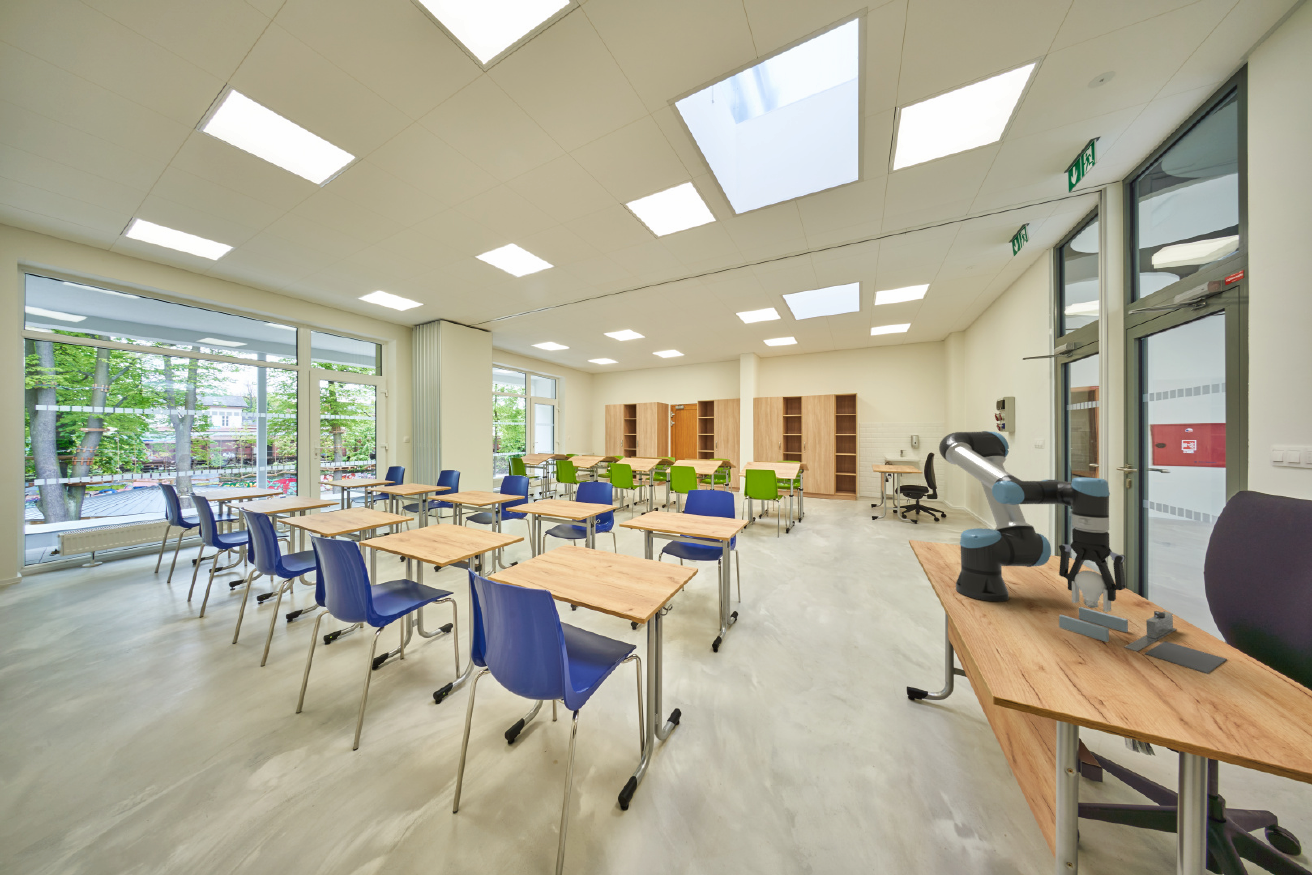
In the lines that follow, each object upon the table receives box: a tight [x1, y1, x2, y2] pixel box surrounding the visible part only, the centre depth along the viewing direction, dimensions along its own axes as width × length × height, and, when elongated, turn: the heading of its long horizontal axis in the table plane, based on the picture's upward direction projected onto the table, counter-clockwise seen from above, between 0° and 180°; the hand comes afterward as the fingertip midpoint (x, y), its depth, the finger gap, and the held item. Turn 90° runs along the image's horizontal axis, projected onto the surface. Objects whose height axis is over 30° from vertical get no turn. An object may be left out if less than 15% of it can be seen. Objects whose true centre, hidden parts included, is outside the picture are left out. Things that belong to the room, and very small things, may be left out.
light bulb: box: [1075, 570, 1107, 609], centre depth 120 cm, size 7×7×11 cm
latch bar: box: [1145, 610, 1174, 639], centre depth 116 cm, size 2×13×6 cm, turn 114°
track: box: [1123, 627, 1178, 653], centre depth 114 cm, size 2×28×1 cm, turn 114°
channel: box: [1058, 606, 1129, 643], centre depth 119 cm, size 10×14×4 cm
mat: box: [1144, 641, 1228, 675], centre depth 104 cm, size 10×14×1 cm
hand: (1091, 606), depth 120 cm, fingers closed on light bulb, 6 cm apart
